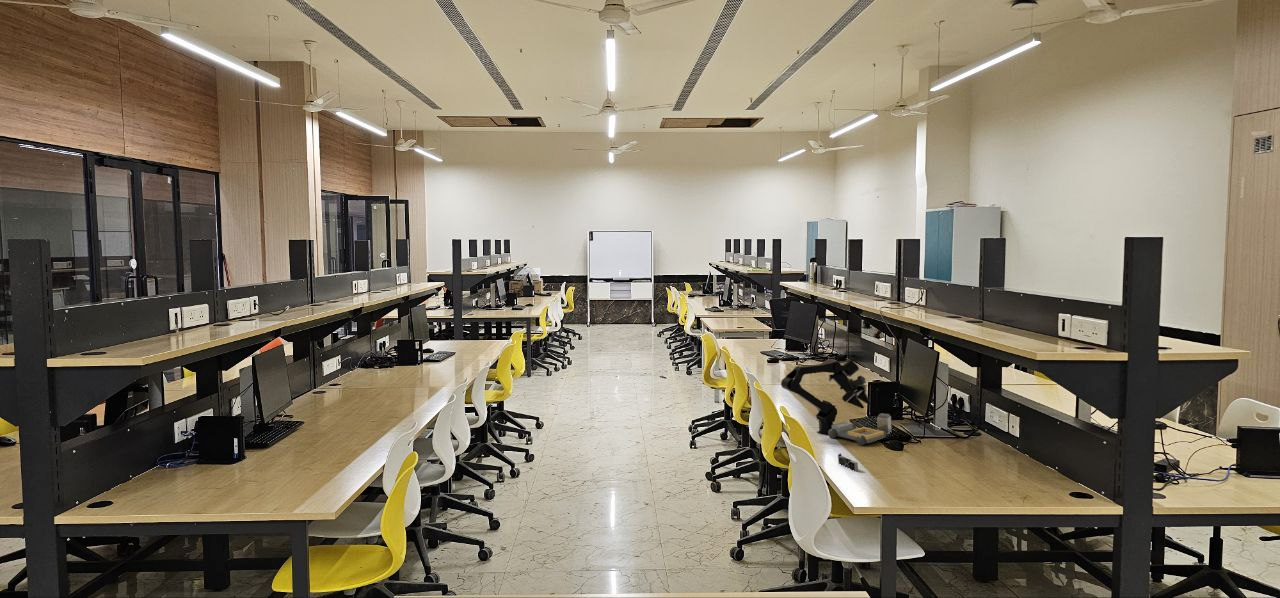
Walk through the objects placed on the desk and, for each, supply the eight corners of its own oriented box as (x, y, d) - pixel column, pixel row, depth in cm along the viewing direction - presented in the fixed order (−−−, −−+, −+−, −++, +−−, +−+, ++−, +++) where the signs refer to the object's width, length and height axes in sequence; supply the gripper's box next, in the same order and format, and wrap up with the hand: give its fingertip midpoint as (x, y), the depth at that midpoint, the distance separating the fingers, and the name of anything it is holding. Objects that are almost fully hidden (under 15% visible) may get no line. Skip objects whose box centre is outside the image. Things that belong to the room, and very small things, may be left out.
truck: (826, 437, 338) (826, 426, 337) (848, 431, 346) (847, 420, 345) (865, 446, 318) (864, 434, 318) (887, 440, 326) (886, 428, 326)
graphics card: (838, 465, 296) (835, 454, 296) (843, 462, 297) (840, 452, 296) (855, 472, 285) (851, 461, 284) (860, 470, 286) (857, 459, 285)
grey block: (877, 435, 335) (876, 415, 334) (881, 433, 339) (880, 413, 338) (888, 437, 332) (887, 416, 331) (891, 434, 336) (890, 413, 335)
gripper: (847, 374, 334) (871, 399, 328) (861, 368, 348) (884, 391, 343) (832, 389, 339) (855, 414, 333) (846, 382, 354) (869, 406, 348)
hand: (866, 406), depth 339 cm, fingers open, 9 cm apart
